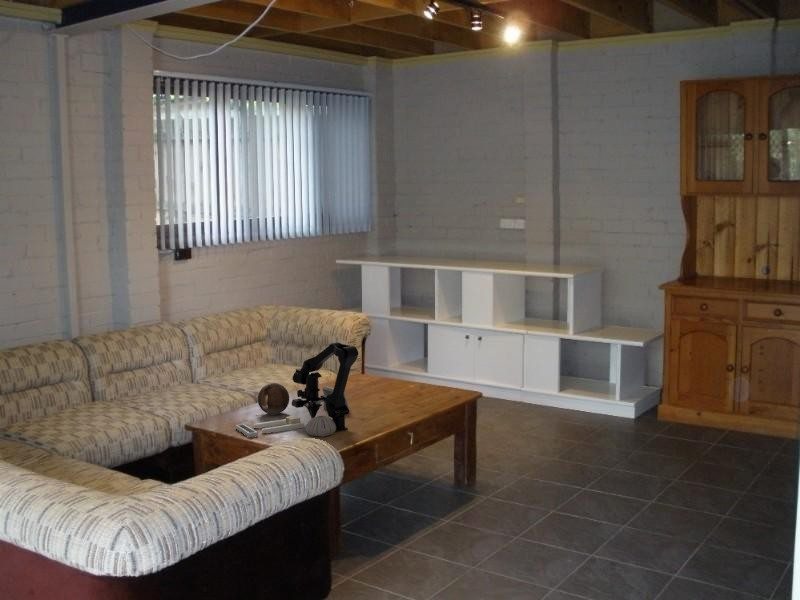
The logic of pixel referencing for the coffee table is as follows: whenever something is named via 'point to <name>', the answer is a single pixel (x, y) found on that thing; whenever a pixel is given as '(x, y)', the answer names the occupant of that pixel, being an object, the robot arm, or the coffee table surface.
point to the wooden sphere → (273, 398)
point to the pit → (251, 432)
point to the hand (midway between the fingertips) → (312, 419)
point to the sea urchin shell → (321, 426)
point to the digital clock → (329, 391)
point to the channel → (278, 428)
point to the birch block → (292, 420)
